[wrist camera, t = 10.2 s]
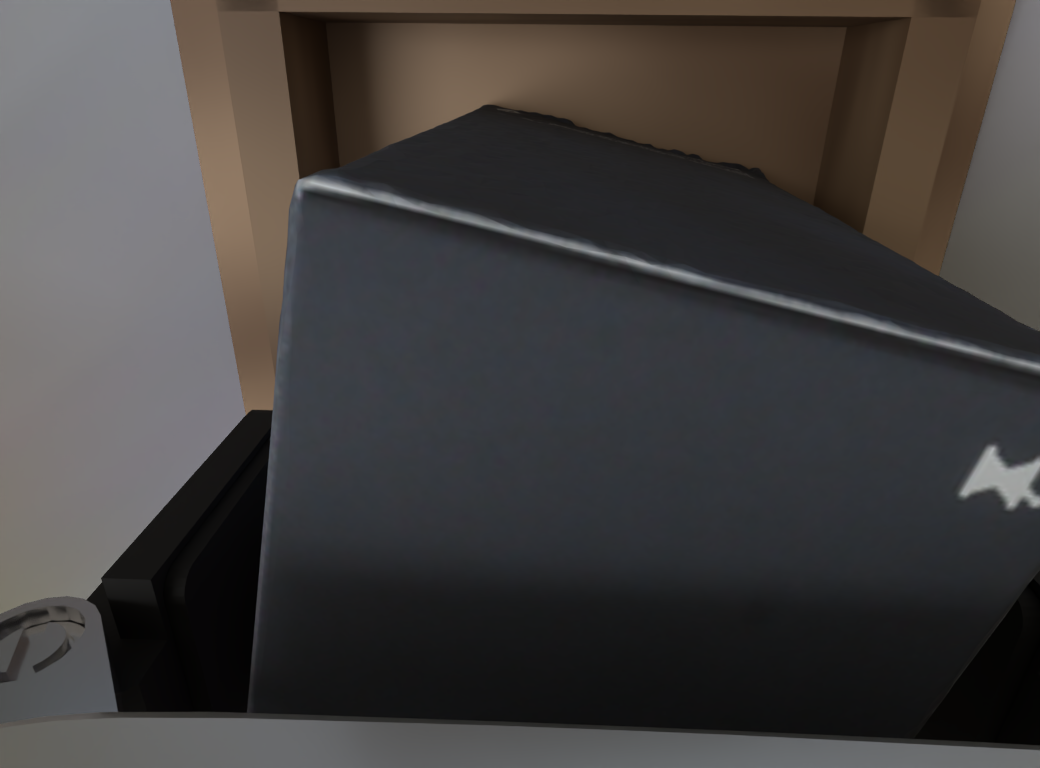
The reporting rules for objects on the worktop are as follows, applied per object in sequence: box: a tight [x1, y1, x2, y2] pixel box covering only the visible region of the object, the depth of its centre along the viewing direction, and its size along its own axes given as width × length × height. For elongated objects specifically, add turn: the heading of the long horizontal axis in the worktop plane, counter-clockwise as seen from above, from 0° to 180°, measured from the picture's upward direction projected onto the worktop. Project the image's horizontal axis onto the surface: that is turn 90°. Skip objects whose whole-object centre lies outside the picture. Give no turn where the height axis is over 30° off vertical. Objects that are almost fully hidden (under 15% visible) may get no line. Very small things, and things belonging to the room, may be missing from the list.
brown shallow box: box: [170, 0, 1016, 415], centre depth 15 cm, size 20×16×4 cm
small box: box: [247, 104, 1040, 739], centre depth 11 cm, size 11×6×10 cm, turn 167°
